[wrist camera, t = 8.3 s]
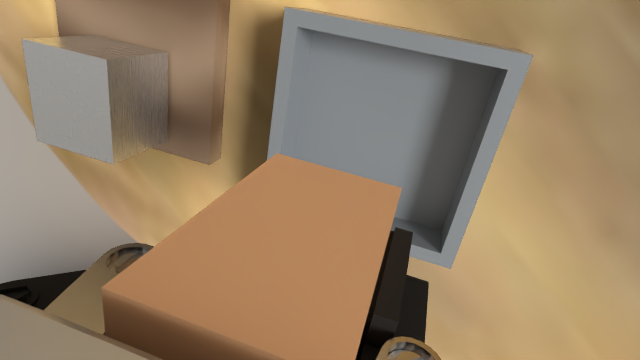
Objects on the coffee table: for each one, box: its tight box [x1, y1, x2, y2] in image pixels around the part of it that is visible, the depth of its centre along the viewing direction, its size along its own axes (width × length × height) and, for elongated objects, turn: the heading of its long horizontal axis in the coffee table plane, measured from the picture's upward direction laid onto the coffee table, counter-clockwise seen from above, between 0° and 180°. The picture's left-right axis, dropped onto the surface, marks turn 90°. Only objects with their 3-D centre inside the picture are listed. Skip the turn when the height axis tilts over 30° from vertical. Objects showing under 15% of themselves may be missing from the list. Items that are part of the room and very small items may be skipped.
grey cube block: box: [22, 35, 168, 164], centre depth 24 cm, size 6×6×5 cm
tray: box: [267, 7, 533, 269], centre depth 23 cm, size 12×12×4 cm
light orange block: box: [101, 153, 402, 360], centre depth 10 cm, size 5×4×7 cm
